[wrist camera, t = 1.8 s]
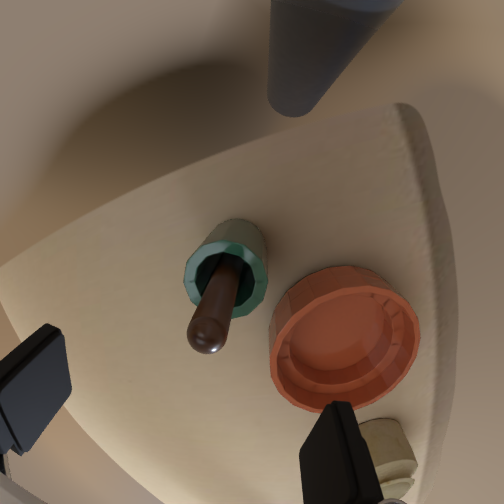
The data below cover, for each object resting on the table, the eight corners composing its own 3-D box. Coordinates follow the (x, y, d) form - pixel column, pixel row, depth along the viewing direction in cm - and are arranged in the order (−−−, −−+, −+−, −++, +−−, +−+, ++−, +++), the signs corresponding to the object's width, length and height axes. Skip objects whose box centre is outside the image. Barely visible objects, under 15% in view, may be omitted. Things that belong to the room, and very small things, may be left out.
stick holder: (214, 212, 27) (191, 232, 18) (272, 226, 27) (276, 252, 18) (203, 267, 28) (178, 307, 19) (258, 280, 28) (255, 326, 20)
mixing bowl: (290, 248, 27) (297, 268, 22) (414, 279, 28) (442, 302, 22) (254, 367, 31) (253, 404, 25) (366, 383, 31) (380, 416, 26)
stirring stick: (228, 237, 27) (185, 321, 11) (248, 241, 27) (228, 332, 11) (224, 255, 27) (180, 356, 12) (243, 260, 27) (220, 366, 12)
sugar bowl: (323, 474, 37) (333, 545, 23) (298, 446, 35) (305, 532, 21) (405, 440, 35) (433, 508, 20) (394, 406, 33) (430, 488, 18)
